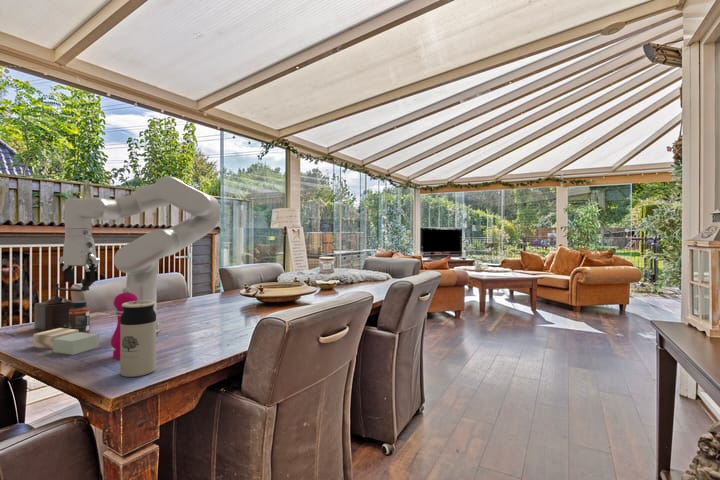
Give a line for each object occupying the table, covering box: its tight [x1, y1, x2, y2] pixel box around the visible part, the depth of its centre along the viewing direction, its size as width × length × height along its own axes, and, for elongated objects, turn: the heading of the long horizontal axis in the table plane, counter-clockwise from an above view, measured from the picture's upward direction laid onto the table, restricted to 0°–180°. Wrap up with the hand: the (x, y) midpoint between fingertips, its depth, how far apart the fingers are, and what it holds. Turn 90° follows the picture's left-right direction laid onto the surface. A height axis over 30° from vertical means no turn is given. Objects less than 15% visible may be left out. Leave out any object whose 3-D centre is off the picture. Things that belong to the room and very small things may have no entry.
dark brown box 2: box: [33, 277, 94, 332], centre depth 143 cm, size 16×11×18 cm
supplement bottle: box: [68, 300, 91, 333], centre depth 133 cm, size 6×6×11 cm
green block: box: [52, 332, 100, 356], centre depth 115 cm, size 8×8×4 cm
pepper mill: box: [110, 287, 138, 360], centre depth 110 cm, size 7×7×20 cm
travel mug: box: [119, 300, 157, 378], centre depth 97 cm, size 8×8×18 cm
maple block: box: [33, 328, 79, 350], centre depth 120 cm, size 8×8×4 cm
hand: (79, 282), depth 133 cm, fingers open, 9 cm apart
